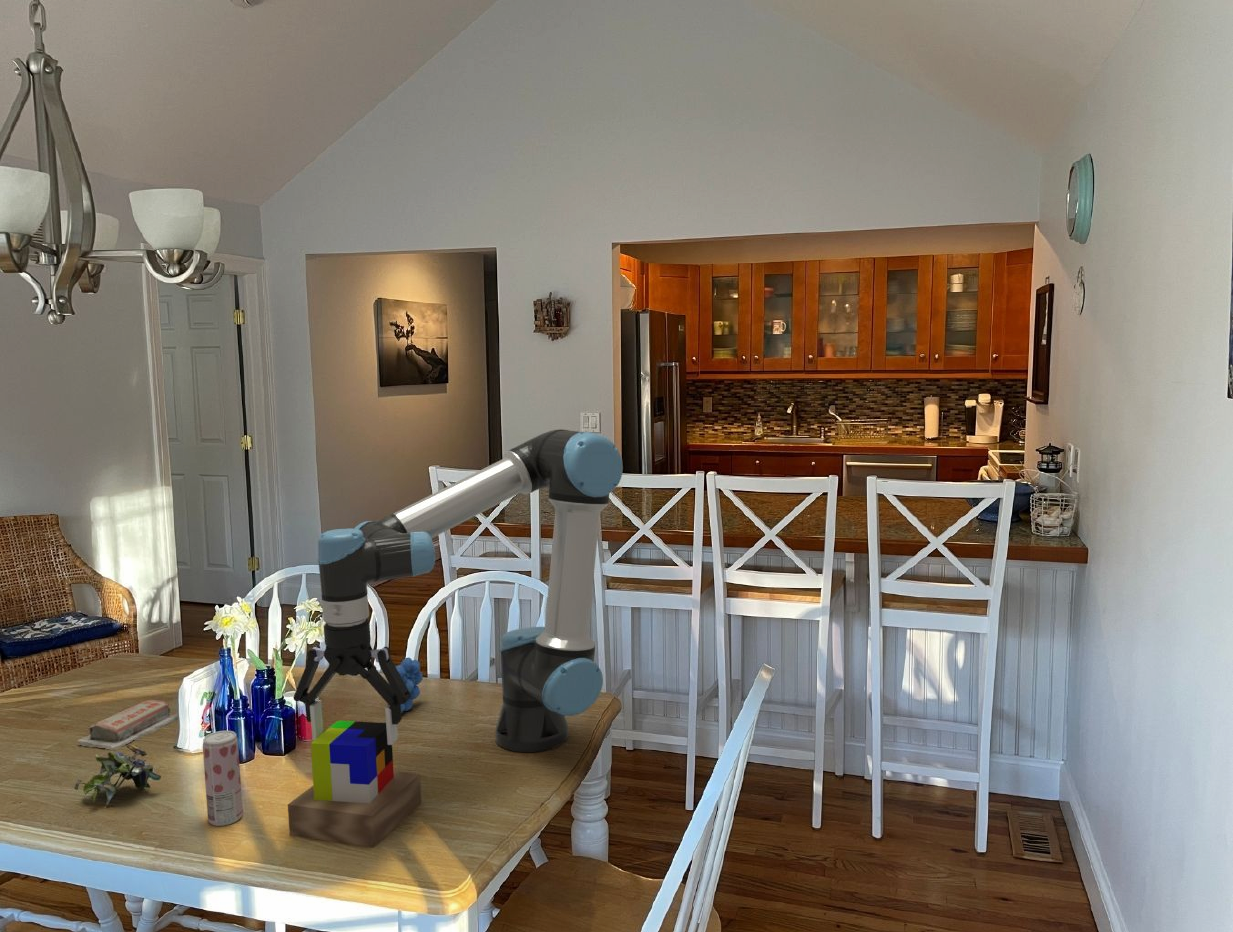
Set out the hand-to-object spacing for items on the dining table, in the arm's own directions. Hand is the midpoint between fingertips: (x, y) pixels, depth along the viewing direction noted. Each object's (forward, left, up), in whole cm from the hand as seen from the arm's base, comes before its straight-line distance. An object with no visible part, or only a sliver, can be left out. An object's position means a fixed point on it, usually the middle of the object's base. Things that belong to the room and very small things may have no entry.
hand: (355, 740), depth 164 cm
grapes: (+11, -49, -14) cm, 52 cm away
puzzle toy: (0, 0, -9) cm, 9 cm away
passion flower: (+47, -2, -14) cm, 49 cm away
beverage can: (+23, +3, -14) cm, 27 cm away
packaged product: (+66, -31, -15) cm, 74 cm away
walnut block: (0, 0, -15) cm, 15 cm away
